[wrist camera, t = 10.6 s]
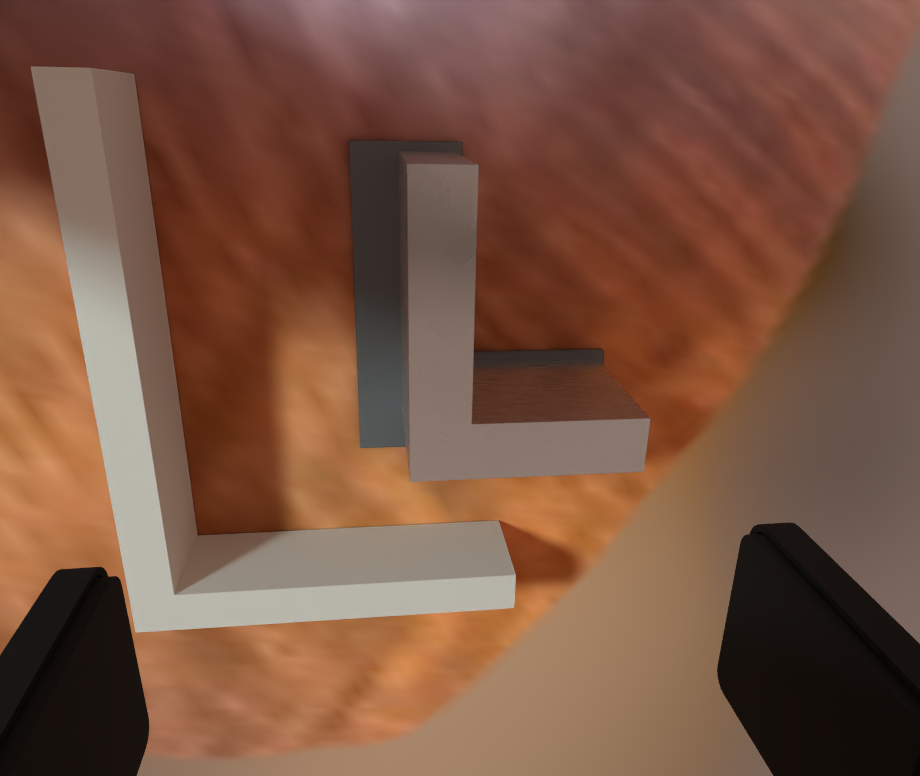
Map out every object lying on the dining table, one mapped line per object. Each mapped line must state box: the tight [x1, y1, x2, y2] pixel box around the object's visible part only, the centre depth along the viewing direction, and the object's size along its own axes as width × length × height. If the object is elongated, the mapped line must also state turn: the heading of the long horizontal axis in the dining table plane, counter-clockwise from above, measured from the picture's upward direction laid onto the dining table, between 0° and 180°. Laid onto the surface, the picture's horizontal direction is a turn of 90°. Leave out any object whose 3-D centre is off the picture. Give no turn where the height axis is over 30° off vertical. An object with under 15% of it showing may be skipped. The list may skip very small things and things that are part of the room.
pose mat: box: [349, 140, 604, 448], centre depth 28 cm, size 12×10×1 cm
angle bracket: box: [399, 151, 651, 482], centre depth 25 cm, size 10×8×6 cm
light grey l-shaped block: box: [30, 66, 516, 632], centre depth 26 cm, size 20×15×4 cm
